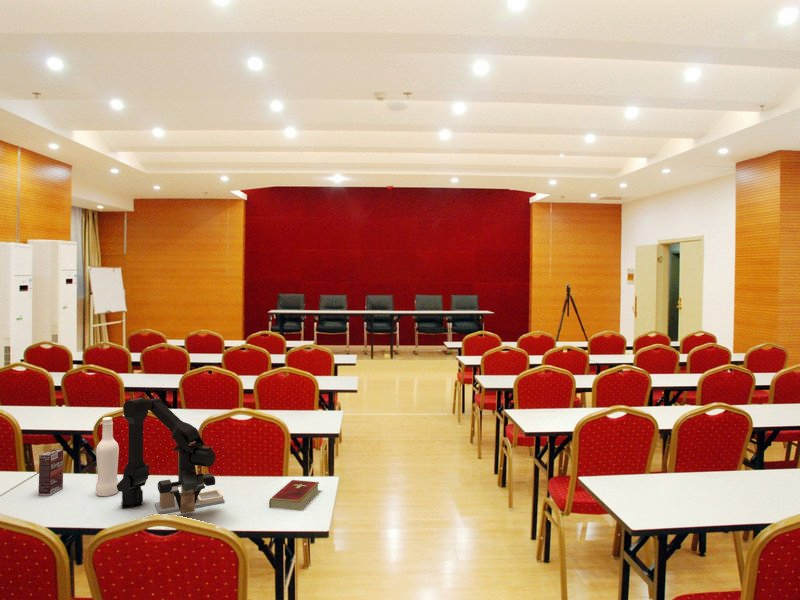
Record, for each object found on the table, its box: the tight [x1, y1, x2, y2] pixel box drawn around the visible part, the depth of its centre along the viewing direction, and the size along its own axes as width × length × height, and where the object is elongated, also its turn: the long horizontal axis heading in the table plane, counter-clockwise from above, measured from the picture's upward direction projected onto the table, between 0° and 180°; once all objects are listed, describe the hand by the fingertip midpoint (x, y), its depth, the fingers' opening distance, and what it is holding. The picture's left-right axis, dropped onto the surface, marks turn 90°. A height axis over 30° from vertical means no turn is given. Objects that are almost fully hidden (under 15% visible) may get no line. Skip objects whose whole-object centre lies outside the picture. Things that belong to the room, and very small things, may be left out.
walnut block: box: [179, 491, 196, 515], centre depth 199 cm, size 4×4×6 cm
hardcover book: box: [268, 479, 320, 511], centre depth 216 cm, size 12×21×4 cm, turn 169°
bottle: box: [95, 416, 120, 497], centre depth 219 cm, size 8×8×30 cm
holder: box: [154, 486, 225, 515], centre depth 209 cm, size 23×10×7 cm, turn 121°
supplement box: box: [38, 448, 64, 497], centre depth 220 cm, size 9×5×16 cm, turn 0°
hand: (186, 506), depth 199 cm, fingers closed on walnut block, 4 cm apart
